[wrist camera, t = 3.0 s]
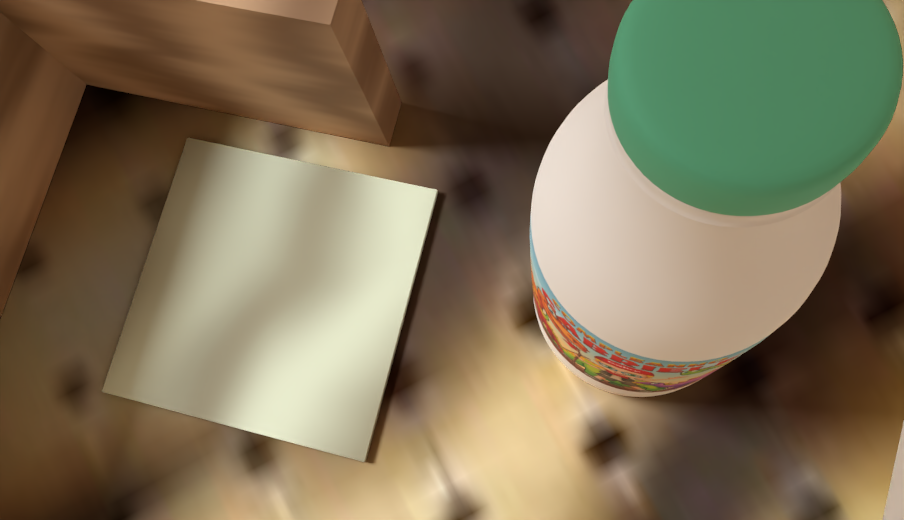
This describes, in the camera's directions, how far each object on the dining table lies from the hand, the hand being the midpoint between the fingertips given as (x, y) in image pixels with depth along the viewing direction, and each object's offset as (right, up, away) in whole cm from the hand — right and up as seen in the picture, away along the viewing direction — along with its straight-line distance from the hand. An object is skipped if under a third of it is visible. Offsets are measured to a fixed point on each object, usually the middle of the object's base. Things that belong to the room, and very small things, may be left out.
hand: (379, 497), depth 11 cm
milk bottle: (+8, +1, +22) cm, 24 cm away
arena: (-10, +1, +24) cm, 26 cm away
